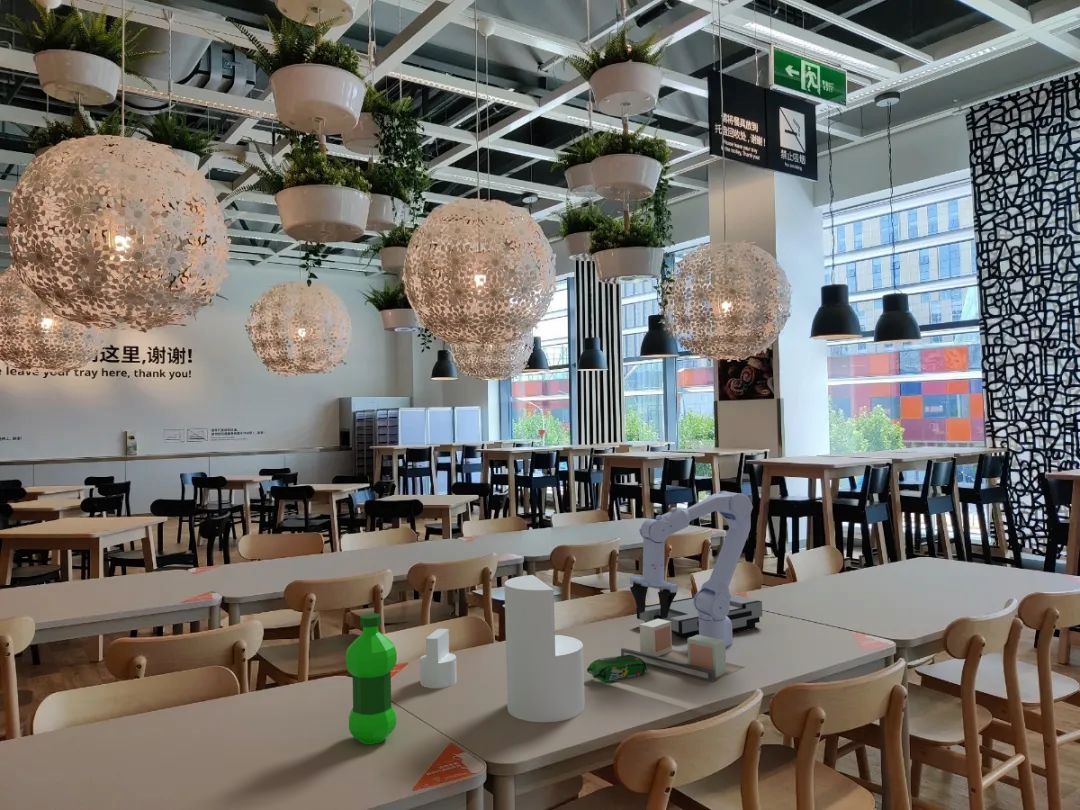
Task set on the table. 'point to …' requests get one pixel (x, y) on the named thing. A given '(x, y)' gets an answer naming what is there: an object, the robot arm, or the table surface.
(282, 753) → the table surface
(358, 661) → the plastic bottle
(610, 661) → the snack package
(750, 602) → the game console
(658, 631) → the cream carton
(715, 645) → the sage carton
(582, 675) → the white stepped round block
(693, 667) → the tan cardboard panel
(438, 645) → the white stepped half-round block
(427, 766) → the table surface
